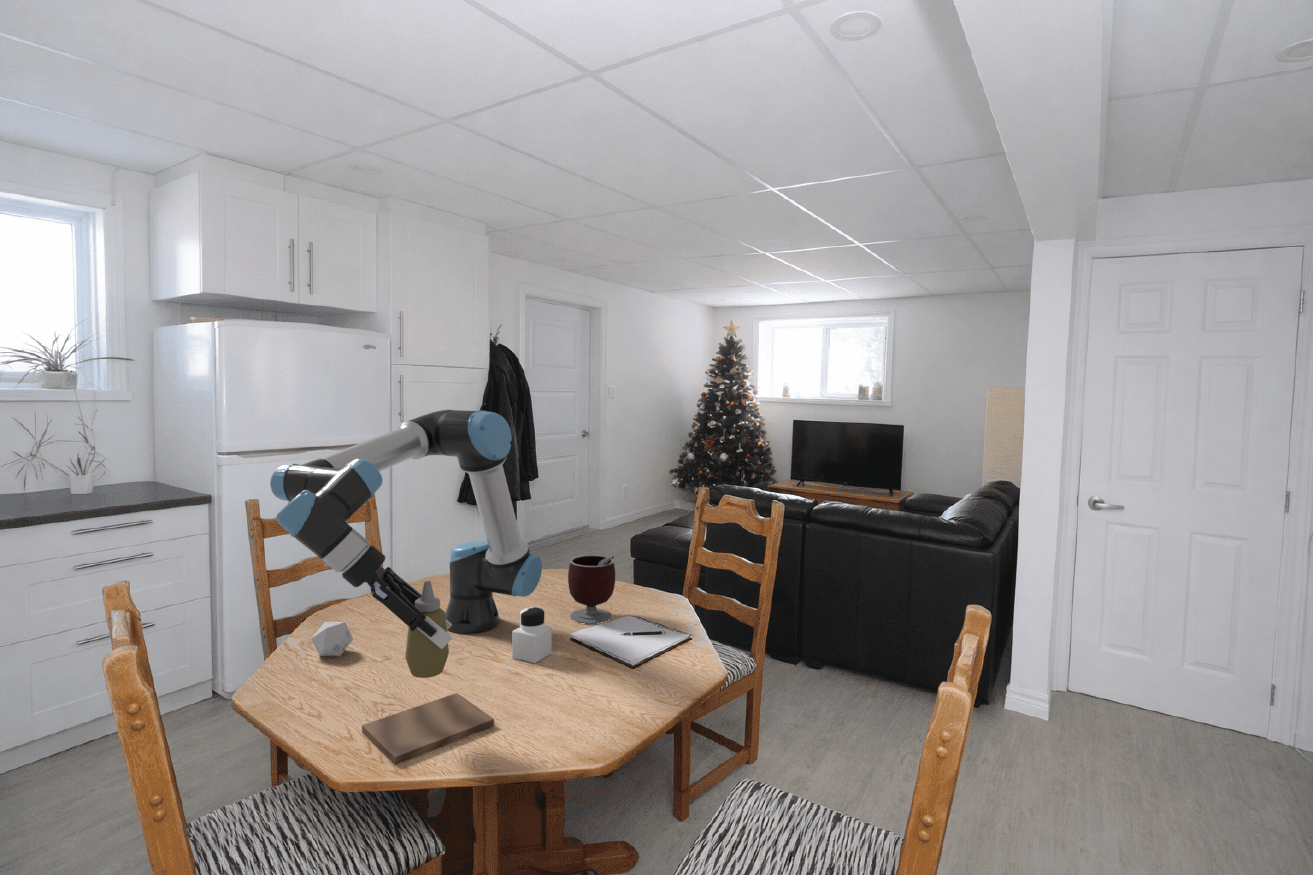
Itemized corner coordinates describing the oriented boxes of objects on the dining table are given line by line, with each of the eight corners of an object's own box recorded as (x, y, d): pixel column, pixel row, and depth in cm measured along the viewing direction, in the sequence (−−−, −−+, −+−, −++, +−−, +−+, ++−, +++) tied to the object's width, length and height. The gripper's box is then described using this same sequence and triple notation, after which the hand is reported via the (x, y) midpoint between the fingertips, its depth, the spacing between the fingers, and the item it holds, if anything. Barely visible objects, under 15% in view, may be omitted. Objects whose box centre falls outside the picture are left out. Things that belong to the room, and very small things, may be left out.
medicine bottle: (551, 653, 166) (552, 607, 165) (535, 664, 160) (535, 616, 159) (528, 648, 169) (529, 603, 168) (511, 658, 163) (511, 611, 162)
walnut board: (457, 699, 141) (457, 692, 140) (494, 725, 130) (494, 718, 130) (362, 732, 126) (362, 725, 126) (394, 765, 116) (394, 757, 116)
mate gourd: (557, 617, 192) (558, 550, 191) (591, 606, 203) (592, 542, 201) (594, 630, 182) (595, 560, 181) (628, 618, 193) (629, 552, 191)
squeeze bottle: (412, 663, 131) (412, 575, 129) (453, 663, 131) (453, 576, 130) (399, 681, 123) (399, 588, 121) (443, 681, 123) (443, 588, 122)
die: (325, 666, 157) (351, 631, 159) (297, 646, 158) (324, 611, 160) (340, 665, 164) (365, 631, 167) (314, 645, 166) (339, 612, 168)
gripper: (347, 560, 130) (433, 632, 136) (331, 589, 112) (431, 671, 118) (375, 533, 131) (459, 606, 137) (365, 557, 113) (462, 640, 119)
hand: (446, 636), depth 128 cm, fingers closed on squeeze bottle, 6 cm apart
